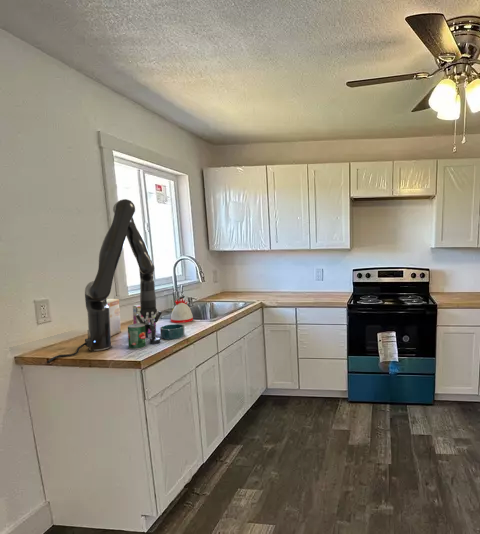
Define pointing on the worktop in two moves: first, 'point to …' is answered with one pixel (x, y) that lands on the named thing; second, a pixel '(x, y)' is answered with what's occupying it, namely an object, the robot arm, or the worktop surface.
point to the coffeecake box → (114, 316)
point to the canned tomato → (136, 336)
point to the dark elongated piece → (152, 334)
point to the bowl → (172, 331)
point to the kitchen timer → (181, 312)
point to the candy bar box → (136, 311)
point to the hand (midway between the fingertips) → (149, 331)
